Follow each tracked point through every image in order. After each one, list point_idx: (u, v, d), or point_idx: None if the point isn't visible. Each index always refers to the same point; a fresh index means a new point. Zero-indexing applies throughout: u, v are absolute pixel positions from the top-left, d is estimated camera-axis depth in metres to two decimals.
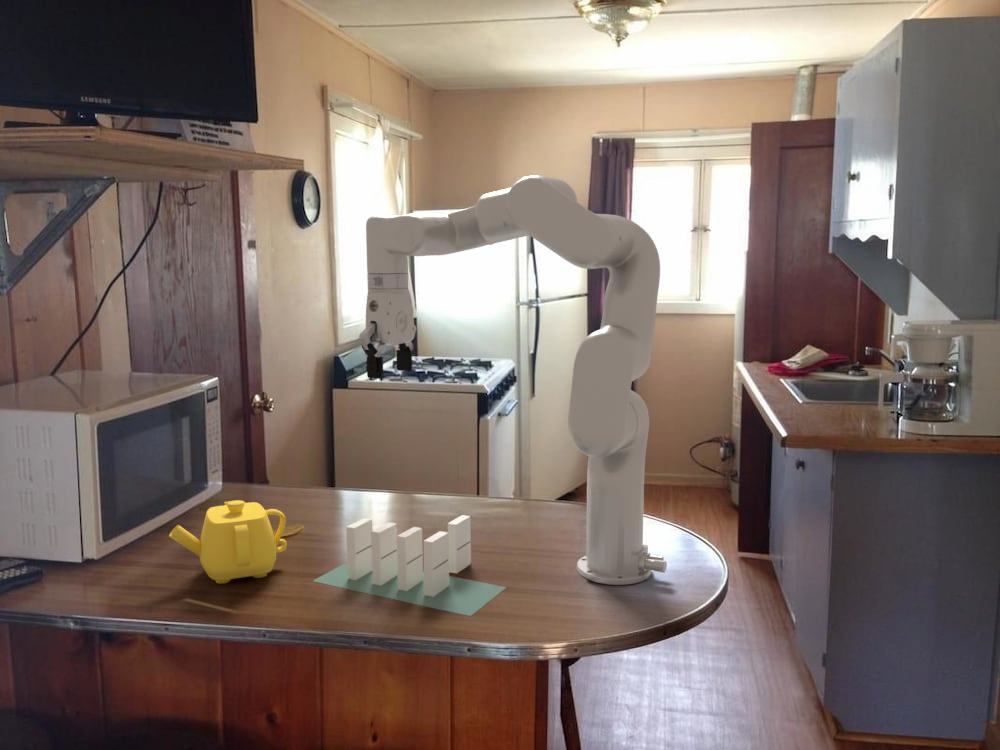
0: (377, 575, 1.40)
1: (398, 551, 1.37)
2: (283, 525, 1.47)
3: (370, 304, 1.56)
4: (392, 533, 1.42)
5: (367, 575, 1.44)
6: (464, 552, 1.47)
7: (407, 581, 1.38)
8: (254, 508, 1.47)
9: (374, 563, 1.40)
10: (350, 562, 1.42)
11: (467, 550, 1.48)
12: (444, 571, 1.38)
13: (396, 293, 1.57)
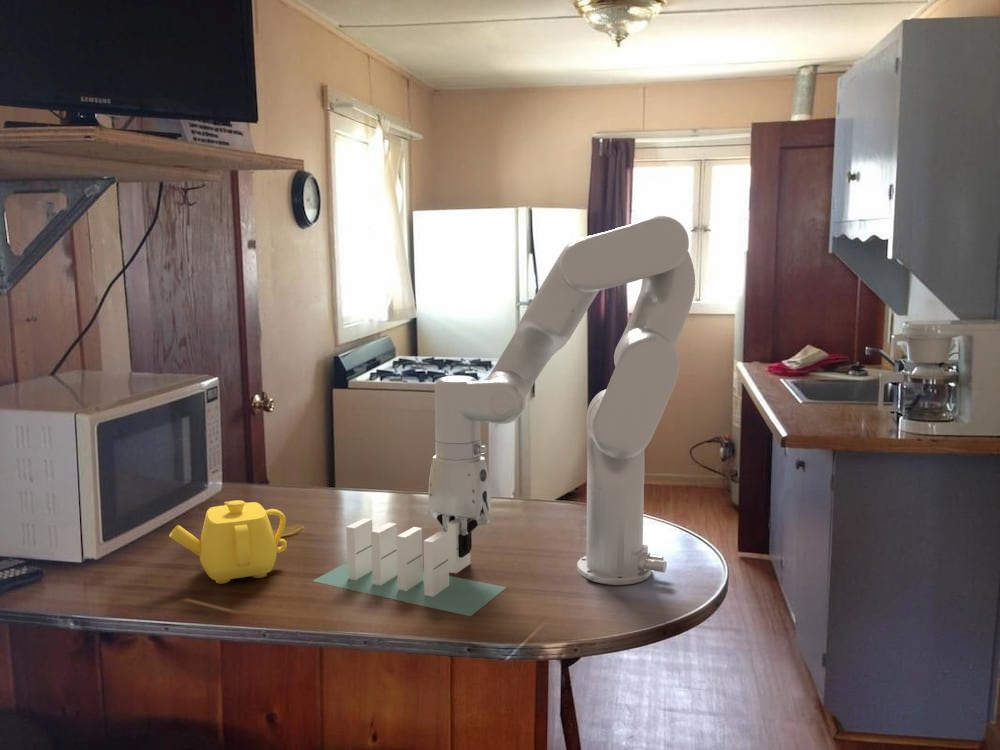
0: (377, 575, 1.40)
1: (398, 551, 1.37)
2: (283, 525, 1.47)
3: None
4: (392, 533, 1.42)
5: (367, 575, 1.44)
6: None
7: (407, 581, 1.38)
8: (254, 508, 1.47)
9: (374, 563, 1.40)
10: (350, 562, 1.42)
11: None
12: (444, 571, 1.38)
13: None
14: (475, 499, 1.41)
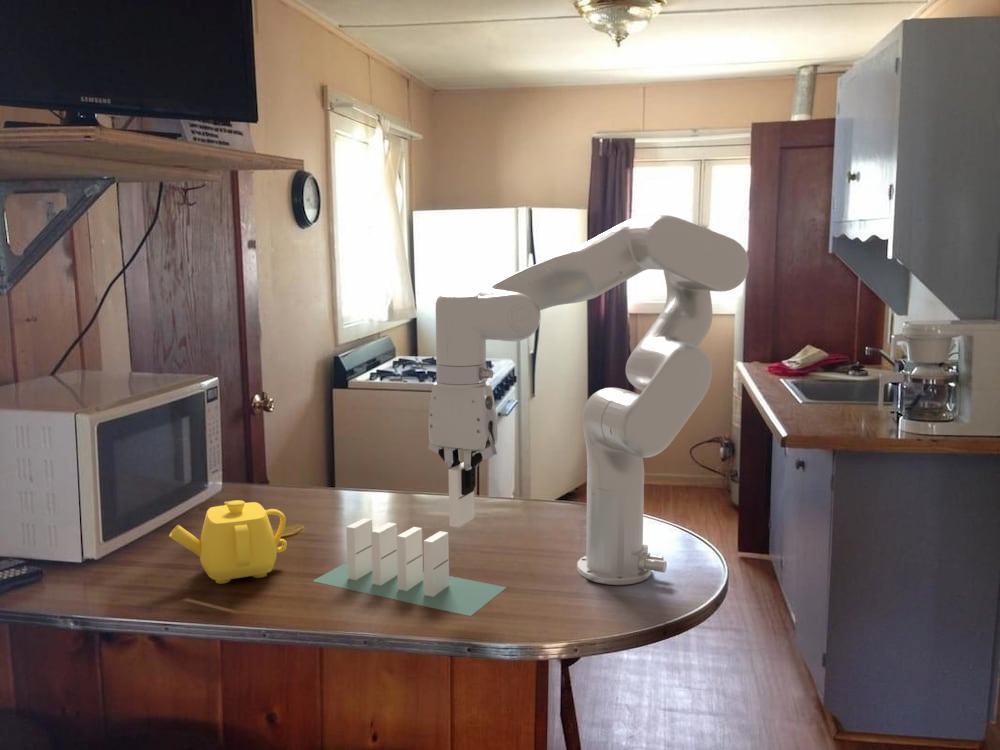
0: (377, 575, 1.40)
1: (398, 551, 1.37)
2: (283, 525, 1.47)
3: None
4: (392, 533, 1.42)
5: (367, 575, 1.44)
6: (467, 502, 1.33)
7: (407, 581, 1.38)
8: (254, 508, 1.47)
9: (374, 563, 1.40)
10: (350, 562, 1.42)
11: (471, 500, 1.34)
12: (444, 571, 1.38)
13: None
14: (480, 428, 1.27)
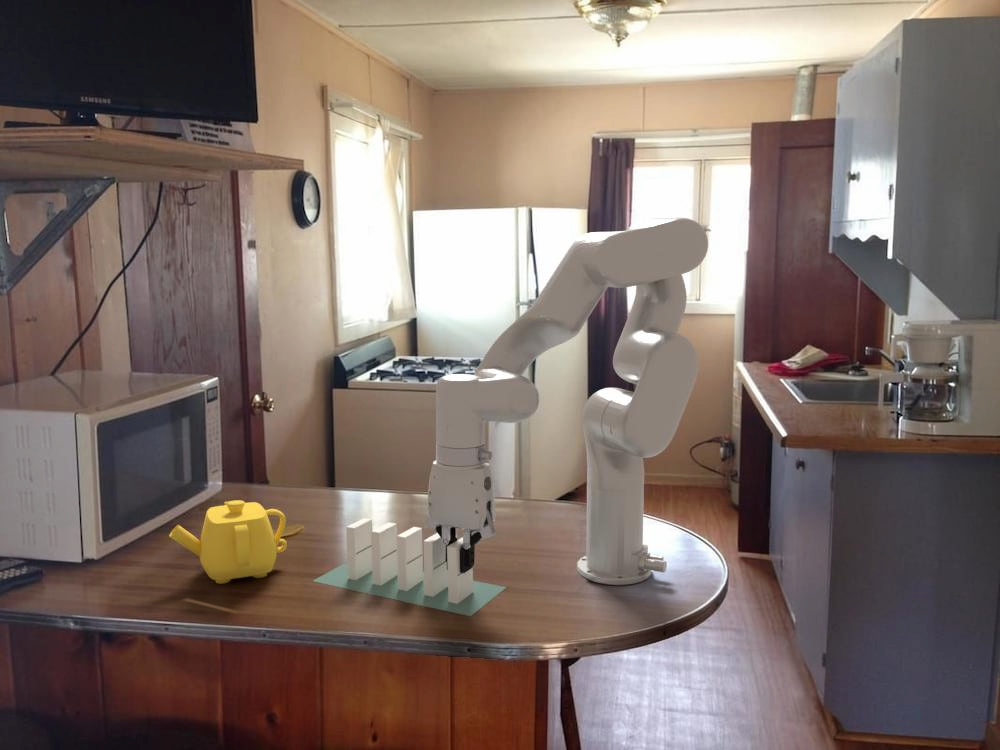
0: (377, 575, 1.40)
1: (398, 551, 1.37)
2: (283, 525, 1.47)
3: None
4: (392, 533, 1.42)
5: (367, 575, 1.44)
6: (466, 578, 1.35)
7: (407, 581, 1.38)
8: (254, 508, 1.47)
9: (374, 563, 1.40)
10: (350, 562, 1.42)
11: (469, 575, 1.36)
12: (444, 571, 1.38)
13: None
14: (478, 509, 1.29)
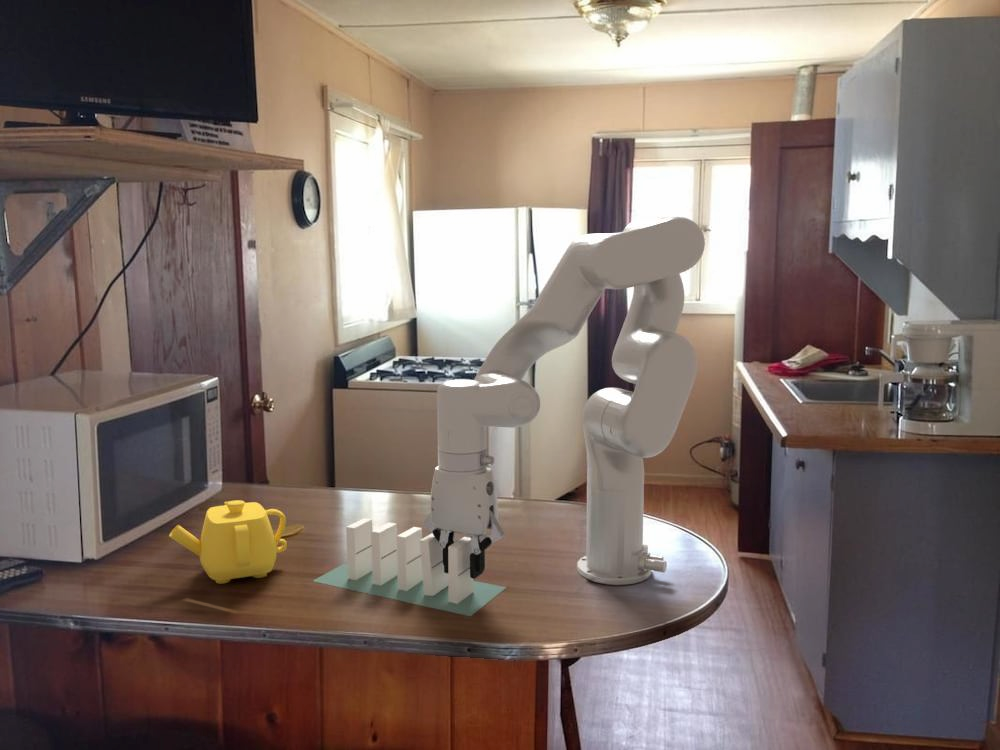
0: (377, 575, 1.40)
1: (398, 551, 1.37)
2: (283, 525, 1.47)
3: None
4: (392, 533, 1.42)
5: (367, 575, 1.44)
6: (466, 578, 1.35)
7: (407, 581, 1.38)
8: (254, 508, 1.47)
9: (374, 563, 1.40)
10: (350, 562, 1.42)
11: None
12: (442, 570, 1.38)
13: None
14: (481, 514, 1.29)
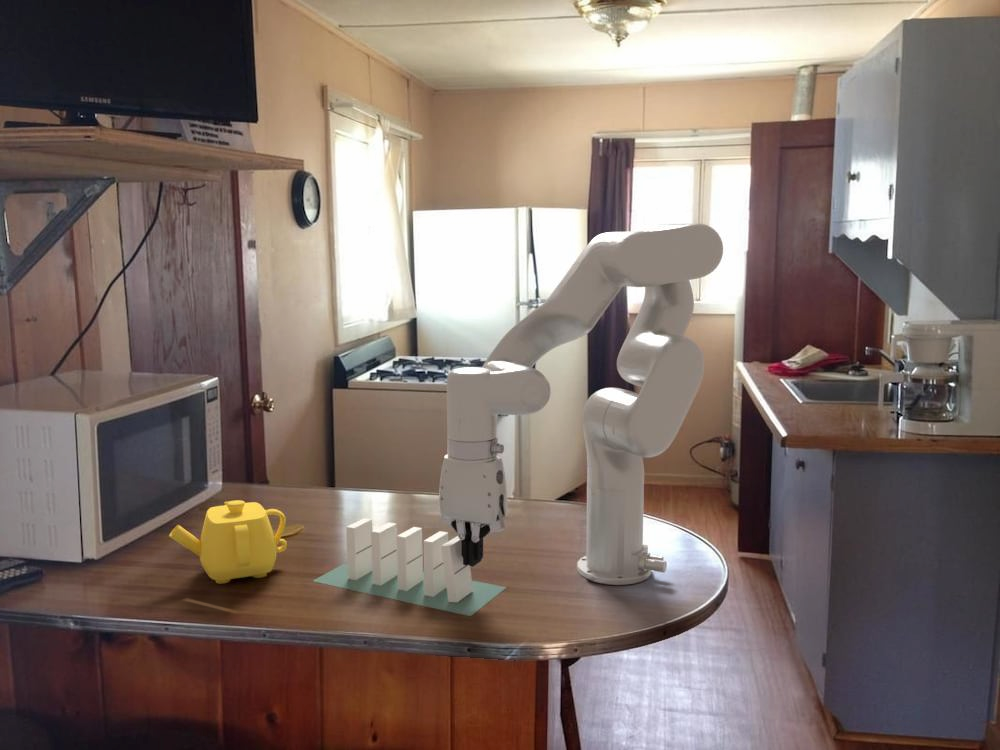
0: (377, 575, 1.40)
1: (398, 551, 1.37)
2: (283, 525, 1.47)
3: None
4: (392, 533, 1.42)
5: (367, 575, 1.44)
6: (464, 576, 1.35)
7: (407, 581, 1.38)
8: (254, 508, 1.47)
9: (374, 563, 1.40)
10: (350, 562, 1.42)
11: (467, 573, 1.36)
12: None
13: None
14: (491, 503, 1.28)
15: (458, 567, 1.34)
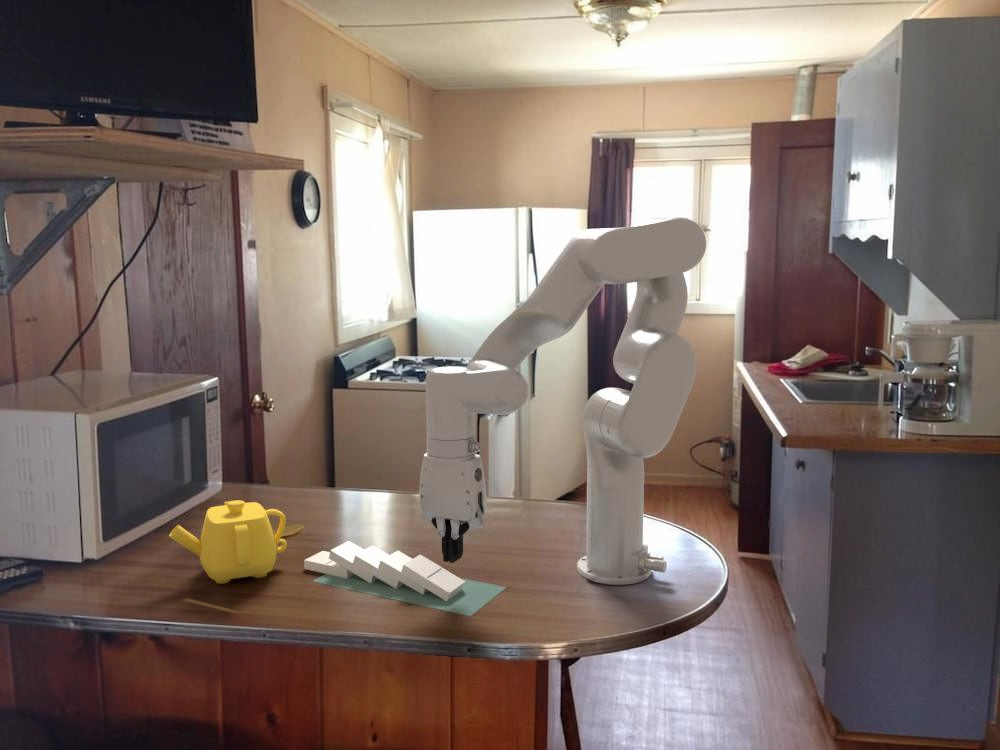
0: (364, 574, 1.41)
1: (364, 568, 1.41)
2: (283, 525, 1.47)
3: None
4: (350, 546, 1.46)
5: None
6: (442, 576, 1.37)
7: None
8: (254, 508, 1.47)
9: (354, 570, 1.42)
10: (332, 571, 1.44)
11: (445, 573, 1.38)
12: None
13: None
14: (470, 500, 1.30)
15: (429, 573, 1.36)
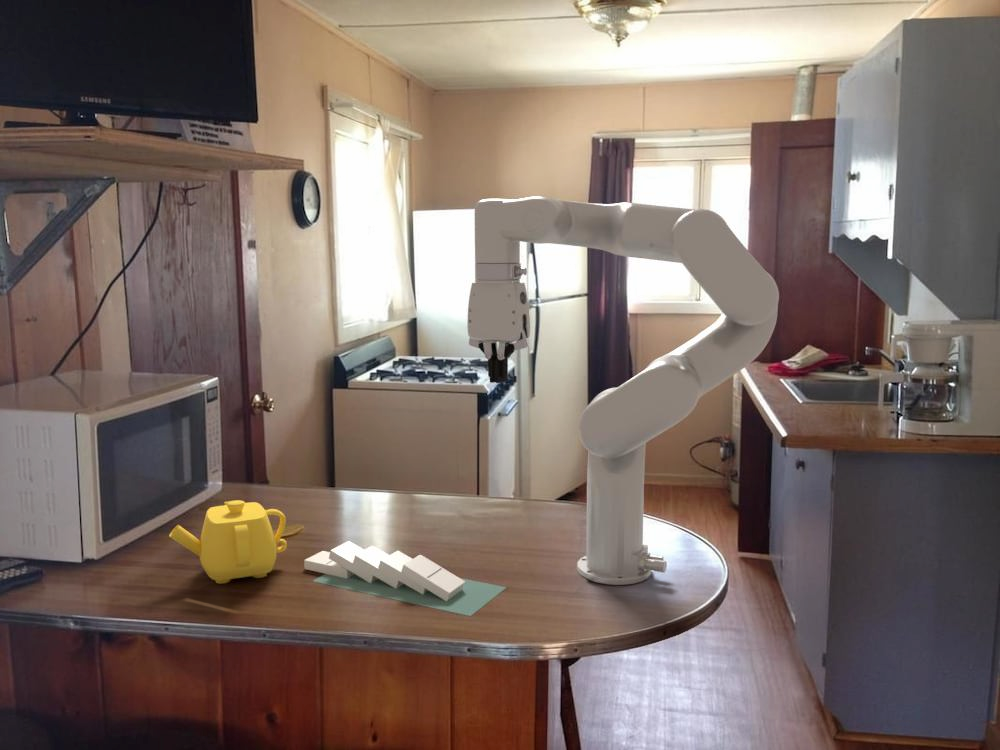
0: (364, 574, 1.41)
1: (364, 568, 1.41)
2: (283, 525, 1.47)
3: None
4: (350, 546, 1.46)
5: None
6: (442, 576, 1.37)
7: None
8: (254, 508, 1.47)
9: (354, 570, 1.42)
10: (332, 571, 1.44)
11: (445, 573, 1.38)
12: None
13: None
14: (515, 320, 1.41)
15: (429, 573, 1.36)
